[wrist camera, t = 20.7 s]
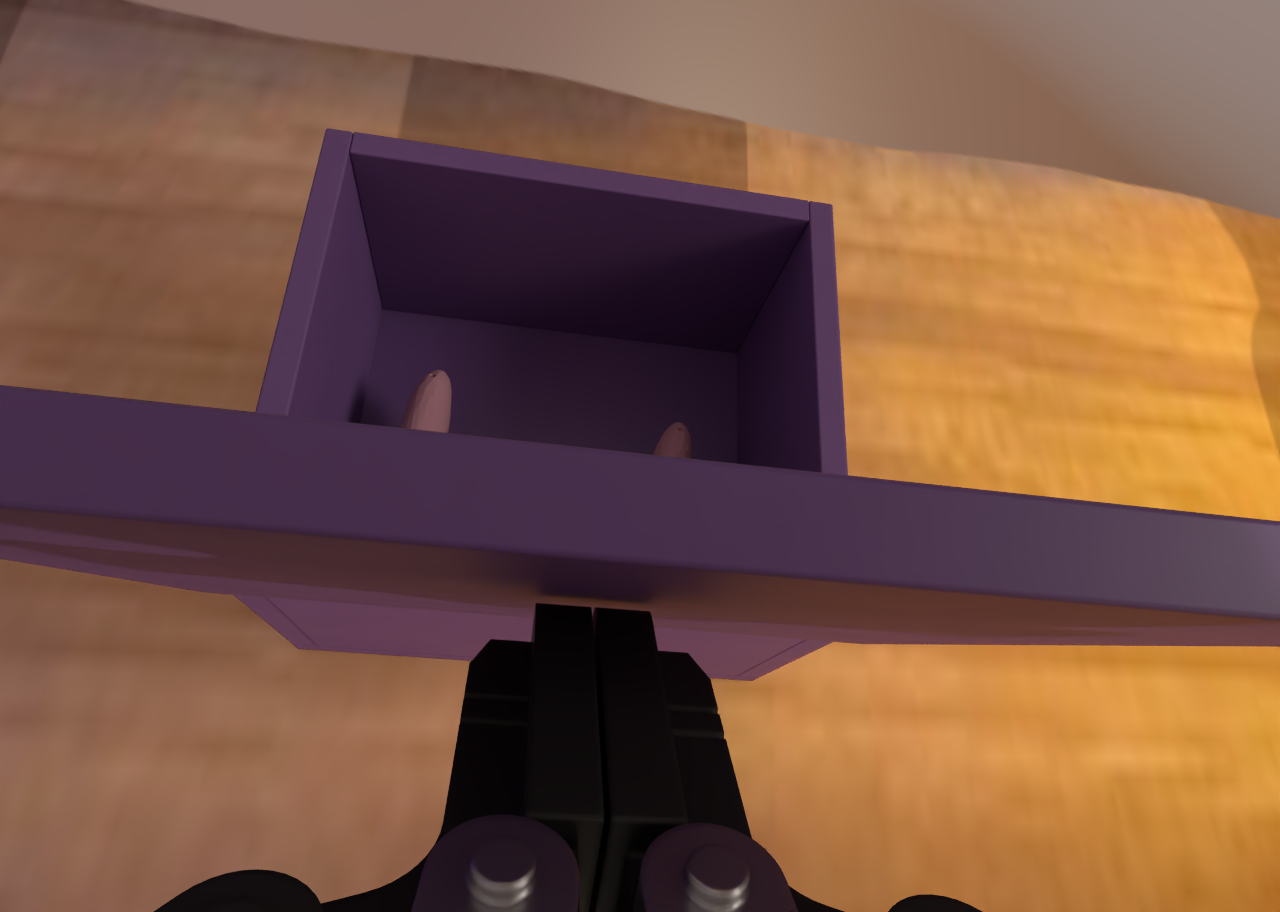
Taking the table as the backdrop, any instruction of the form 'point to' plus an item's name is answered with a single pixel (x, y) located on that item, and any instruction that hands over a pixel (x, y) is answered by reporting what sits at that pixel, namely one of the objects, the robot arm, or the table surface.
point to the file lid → (607, 533)
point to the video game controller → (434, 412)
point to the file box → (555, 338)
